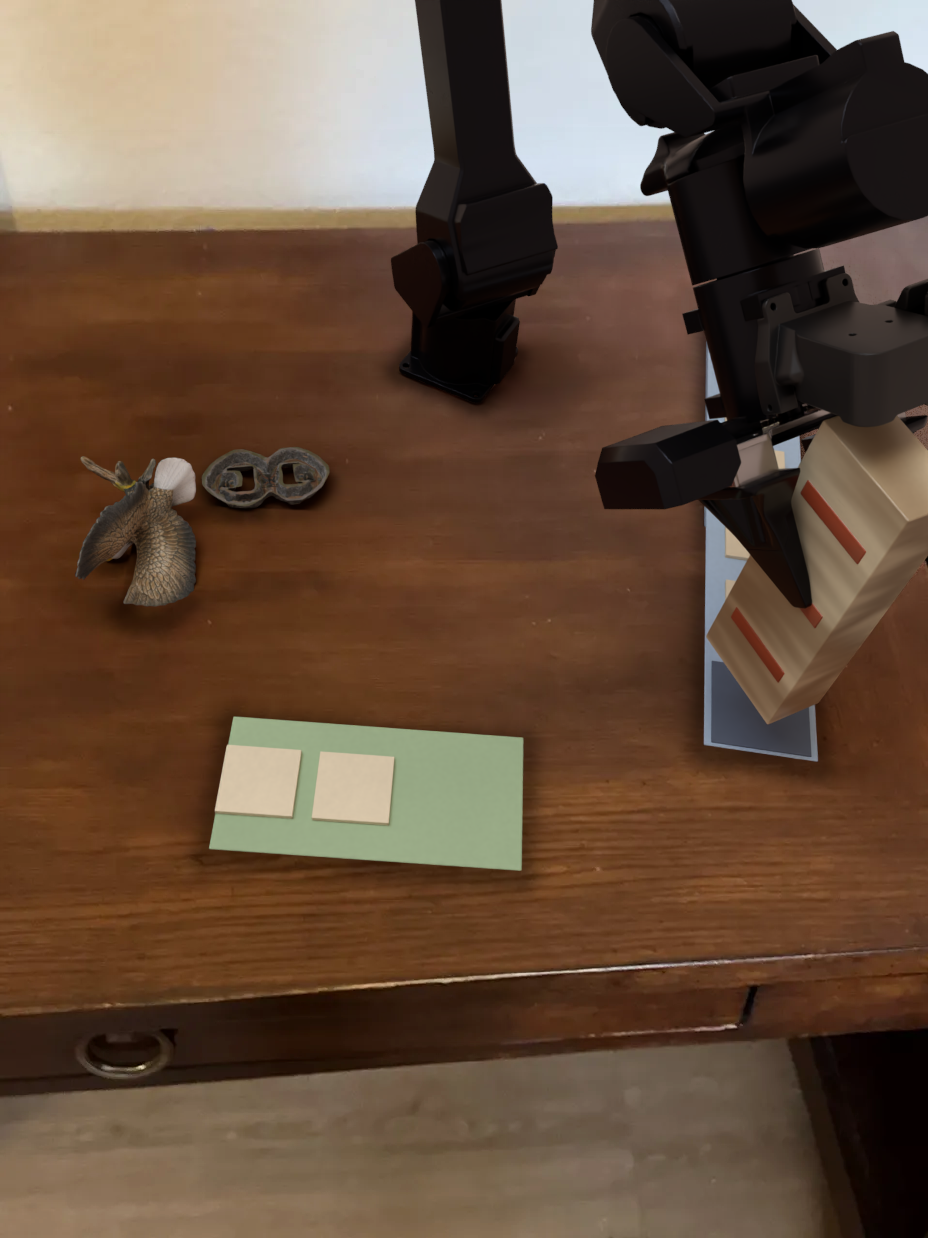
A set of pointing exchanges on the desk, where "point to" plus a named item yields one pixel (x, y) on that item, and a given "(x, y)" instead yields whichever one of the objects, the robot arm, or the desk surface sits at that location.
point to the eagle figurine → (146, 531)
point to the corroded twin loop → (265, 476)
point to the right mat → (724, 699)
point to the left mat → (371, 794)
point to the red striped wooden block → (830, 566)
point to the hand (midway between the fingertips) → (834, 592)
